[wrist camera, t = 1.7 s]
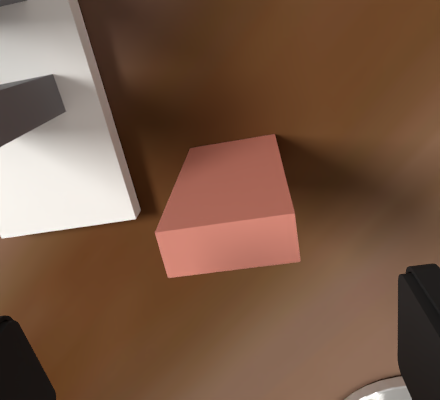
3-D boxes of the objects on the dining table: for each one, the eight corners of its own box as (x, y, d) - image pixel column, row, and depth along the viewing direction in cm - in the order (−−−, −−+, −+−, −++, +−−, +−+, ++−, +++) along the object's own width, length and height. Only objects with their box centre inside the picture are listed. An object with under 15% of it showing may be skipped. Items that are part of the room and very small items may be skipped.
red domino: (279, 166, 23) (300, 261, 14) (197, 179, 24) (168, 278, 15) (275, 134, 23) (294, 213, 14) (190, 148, 23) (154, 232, 14)
